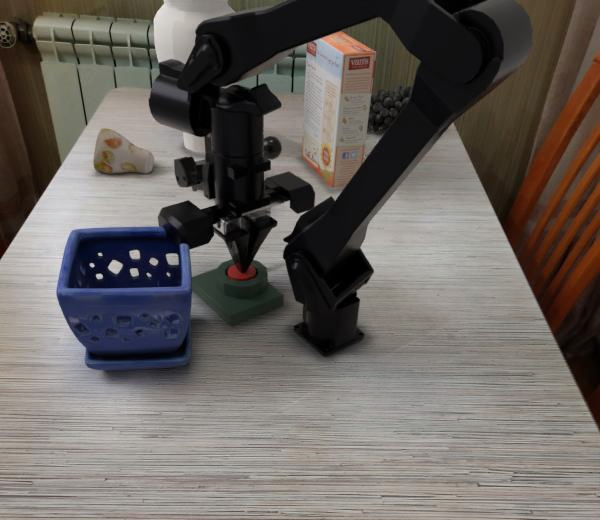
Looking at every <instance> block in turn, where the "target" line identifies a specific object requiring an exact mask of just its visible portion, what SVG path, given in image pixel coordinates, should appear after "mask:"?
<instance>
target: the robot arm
mask: <svg viewBox="0 0 600 520" xmlns="http://www.w3.org/2000/svg"><path fill="white" fill-rule="evenodd" d="M378 18H380V19H381V20H383V21H384V22H385V23H387V24H388V25H389V27H390V28H391V29H392V31H393V32H394V33H395V35H396V36H397V38H398V40H399V41H400V43H401V44H402V45H403V46H404V48H405V50H406V51H407V52H408V53H410V55H412V56H413V57H414V58H415V59H418V60H419V63H418V66H417V68H416V69H415V74H414V76H413V81H412V85H411V88H412V89H411V93H410V96H409V99H408V101H407V103H406V104H405V106H404V107H403V108H402V110H401V111H400V113H399V114H398V115H397V117H396V118H395V119H394V121H393V122H392V124H391V125H390V126H389V128H388V129H387V130H386V131H384V133H383V134H382V136H381V137H380V138H379V140H378V141H377V142H376V144H375V145H374V147H373V148H372V150H371V151H370V152H369V153H368V155H367V156H366V158H364V160H363V163H362V165H361V166H360V167H359V169H358V170H357V171H356V173H355V174H354V176H353V177H352V178H351V180H350V181H349V182H348V184H347V185H346V186H344V188H343V189H342V191H341V192H340V193H339V195H338V196H337V198H336V199H334V198H333V196H332V195H331V196H329V197H327V198H326V199H324V200H323V201H321V202H319V203H317V204H316V190H315V189H314V187H313V185H312V184H311V183H309V182H308V181H306V180H304V179H302V178H301V177H299V176H297V175H296V174H294V173H293V172H291V171H285V172H282V173H278V174H275V175H272V176H268V177H266V178H265V172H268V171H271V170H272V161H271V160H270V159H267V158H265V157H264V138H265V116H266V115H268V114H271V113H273V112H276V111H277V110H280V109H281V108H282V105H283V104H282V102H281V100H280V99H279V98H278V96H277V95H276V94H274V93H273V92H272V91H271V90H270V88H269V86H268V84H267V83H266V82H263V83H261V84H258V85H255V86H253V87H249V86H246V85H242V84H238V83H239V82H241V81H244V80H247V79H249V78H253V77H256V76H258V75H261V74H262V73H265V72H267V71H268V70H270V69H271V68H273V67H274V66H276V65H277V64H279V63H280V62H282V61H283V60H285V59H286V58H287V57H288V56H289V55H290V54H291V53H292V52H294V51H295V50H297V49H298V48H300V47H301V46H304V45H307V43H310V42H313V41H315V40H318V39H321V38H324V37H326V36H329V35H332V34H335V33H337V32H340V31H342V32H343V31H345V30H348V29H350V28H353V27H356V26H359V25H362V24H365V23H368V22H370V21H373V20H375V19H378ZM195 34H196V38H195V45H194V47H193V49H192V52H191V54H190V56H189V58H188V60H187V62H186V64H184V63H182V62H180V61H178V60H175V59H169V60H166V61H162V62H160V63H158V71H159V74H157V76H156V78H155V79H154V81H153V83H152V86H151V88H150V91H149V93H150V94H149V97H148V101H147V102H148V107H149V112H150V114H151V116H152V118H153V119H154V120H155V122H157V123H158V124H159V125H163V126H165V127H167V128H171V129H175V130H177V131H180V132H182V133H183V132H186V133H188V134H191V135H194V136H197V137H205V136H207V135H209V134H210V133H211V147H212V151H210V152H206V154H205V156H204V159H201V160H196V161H195V157H193V156H184V157H179V158H176V159H173V167H174V177H175V180H176V183H177V185H178V186H179V187H180V188H190V187H191V190H192V192H197V191H203V197H205V198H206V199H207V200H214V205H210V206H208V207H205V208H199V206H197V205H196V204H194V203H193V202H192V201H191V200H184V201H181V202H178V203H174V204H171V205H166V206H162V208H161V209H160V210H159V212H158V214H157V224H158V227H163V228H164V229H165V232H166V236H167V237H168V238H169V239H170V240H171V241H173V242H174V243H175V244H176V245H177V246H178V247H179V248H180V244H183V243H184V244H187V245H188V246H189V250H193V249H196V248H200V247H202V246H205V245H209V244H210V243H211V241H212V239H213V238H214V236H215V235H217V236H218V237H220V239H222V240H223V242H224V243H225V246H226V248H227V250H228V252H229V255H230V256H231V259H233V261H234V263H235V266H236V268H237V270H238V271H239V272H241V273H244V272H246V271H247V270H248V268H249V266H250V265H251V263H252V261H253V260H255V257H256V255H257V253H258V251H259V250H260V248H261V247H262V245H263V244H264V242H265V240H266V238H267V237H268V236H269V234H270V232H271V231H272V230H273V229H274V228H276V227H277V226H278V222H279V221H278V220H277V219H275V218H274V217H272V211H271V208H273V207H276V206H279V205H282V204H285V203H287V202H289V209H290V210H291V211H293V212H294V213H295V214H297V215H298V214H301V215H300V216H299V217H298V219H297V221H296V222H295V225H294V227H293V230H292V231H291V233H290V234H288V235H287V236H285V237H284V238H283V239H282V240H283V242H284V243H286V245H285V247H284V249H283V251H282V259H283V260H284V262H285V263H284V264H285V266H286V267H285V268H286V271H287V276H288V278H289V283H290V286H291V291H292V293H293V297H294V301H295V302H296V303H299V304H301V305H302V314H301V315H302V316H301V317H302V318H301V319H302V320H303V321H301V322H298V323H297V324H294V325H293V326H292V330H293V332H294V333H295V334H297V335H298V336H299V337H300V338H301V339H302V340H303V341H305V342H306V343H307V344H308V345H310V346H311V347H312V348H313V349H314V350H316V351H317V353H319V354H320V355H322V356H323V357H328V356H331V355H333V354H334V353H337V352H339V351H340V350H343V349H345V348H347V347H349V346H351V345H354V344H356V343H358V342H360V341H362V340H364V339H365V335H366V334H365V332H363V331H362V330H361V329H360V328H358V321H359V320H358V319H359V312H360V304H361V298H359V297H358V291H359V290H360V289H361V288H362V287H363V286H364V285H367V284H368V283H369V282H370V280H371V278H372V277H373V275H374V274H375V270H374V267H373V266H372V264H371V263H370V261H369V259H368V258H367V256H366V254H365V253H364V252H363V250H362V248H361V247H362V245H363V243H364V241H365V240H366V236H367V235H366V234H367V231H368V227H369V224H370V222H371V221H372V220H373V219H374V217H376V216H377V214H378V213H379V212H380V210H381V209H382V208H383V207H384V205H385V204H387V202H388V201H389V200H390V198H391V197H392V196H393V195H394V194H395V192H396V191H397V190H398V189H399V188H400V187H401V185H402V184H403V183H404V182H405V180H406V179H407V178H408V177H409V176H410V174H411V173H412V172H413V171H414V170H415V168H416V167H418V165H419V163H421V161H422V160H423V159H424V157H425V156H426V155H427V154H428V153H429V152H430V151H431V149H432V148H433V147H434V145H436V143H437V142H438V141H439V140H440V138H441V137H442V136H443V135H444V134H445V132H447V130H448V129H449V128H450V126H451V125H452V124H453V123H454V122H455V121H457V120H458V119H459V118H460V117H462V116H463V115H464V114H465V113H466V112H468V111H469V110H470V109H472V108H473V107H474V106H475V105H477V104H478V103H480V101H481V100H483V99H484V98H486V97H487V96H488V95H489V94H490V93H492V92H493V91H494V90H495V89H496V88H497V87H499V86H500V85H501V84H502V83H504V82H505V81H506V80H507V79H508V78H509V77H511V76H512V75H513V74H514V73H515V72H516V71H518V69H520V68H521V67H522V66H523V65H524V63H525V62H526V60H527V59H528V57H529V55H530V54H531V50H532V47H533V24H532V20H531V17H530V15H529V13H528V12H527V10H526V9H525V7H524V6H523V5H522V4H520V3H519V2H518V1H517V0H285V1H282V2H280V3H278V4H275V5H265V6H258V7H253V8H246V9H242V10H239V11H235V12H234V13H230V14H227V15H223V16H219V17H215V18H211V19H207V20H204V21H202V22H201V23H200V24H199V25H198V26H197V28H196V30H195ZM236 82H237V84H236V85H231V84H234V83H236ZM228 85H231V86H229V87H228V88H222V87H225V86H228Z"/></svg>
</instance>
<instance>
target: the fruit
mask: <svg viewBox="0 0 600 520" xmlns="http://www.w3.org/2000/svg"><path fill="white" fill-rule="evenodd" d="M411 89H412V85H405V86H404V87H403V85H397V87H395V88H394V90H392V89H390V90H387V92H386V90H385V89H383V88H381V89H378V90H377V92H376V94H374V93H373V94H371V101H370V109H369V117H368V126H367V129H369V128H370V127H371V130H372V132H375V133H376V132H378V131H379V130H380V129H381V130H382V131H384V132H386V130H387V129H388V128H389V126H390V125H391V124H392V122H393V121H394V119H395V118H396V117H397V115H398V114H399V113H400V111H401V110H402V108H403V107H404V106H405V104H406V103H407V101H408V99H409V96H410V93H411Z"/></svg>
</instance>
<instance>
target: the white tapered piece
mask: <svg viewBox="0 0 600 520" xmlns="http://www.w3.org/2000/svg"><path fill="white" fill-rule="evenodd" d="M92 160H93V162H92V163H93V168H94V170H96V171H98V172H100V173H103V174H107V175H108V174H109V175H112V174H113V175H114V174H124V173H136V174H137V173H138V174H143V175H146V174H150V173H151V172H152V171H153V169H154V165H155V156H154V155H153V153H152V151H150V150H147V149H144V148H141V147H139V146H137V145H135V144H134V143H133V142H131V141H130V140H129V139H127V138H126V137H125V136H124V135H122V134H121V133H119V132H118V131H116V130H114V129H111V128H104V127H103V128H100V130H99V132H98V134H97V137H96V141H95V147H94V152H93V159H92Z"/></svg>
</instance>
